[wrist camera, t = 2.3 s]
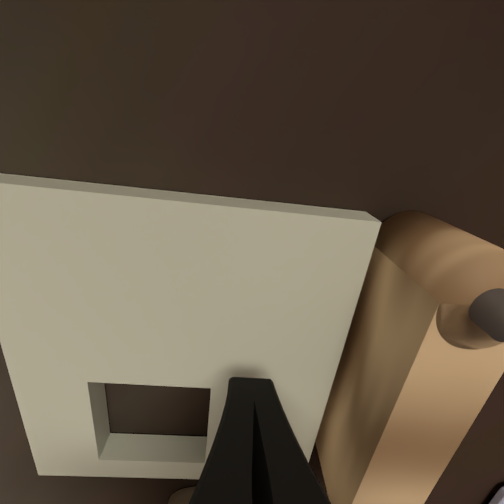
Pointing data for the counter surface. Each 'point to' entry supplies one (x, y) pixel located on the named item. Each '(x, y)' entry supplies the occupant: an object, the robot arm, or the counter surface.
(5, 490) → the counter surface
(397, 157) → the counter surface
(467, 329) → the hinged leg
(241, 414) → the robot arm
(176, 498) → the loose leg
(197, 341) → the stool seat
